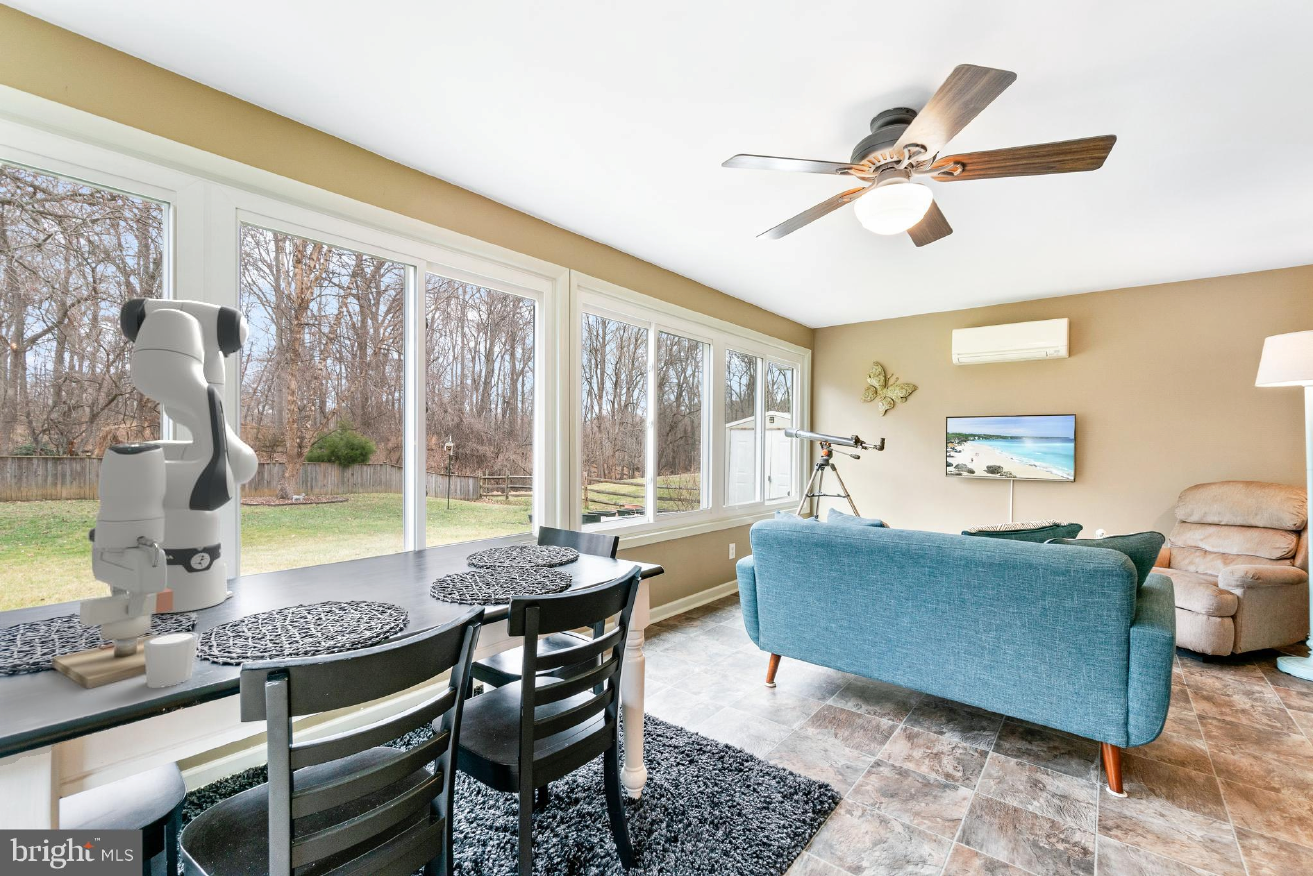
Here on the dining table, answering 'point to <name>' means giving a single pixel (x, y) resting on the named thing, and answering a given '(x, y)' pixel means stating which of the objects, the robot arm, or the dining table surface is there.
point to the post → (125, 647)
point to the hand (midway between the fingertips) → (127, 612)
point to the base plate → (101, 664)
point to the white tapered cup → (170, 658)
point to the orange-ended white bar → (123, 614)
